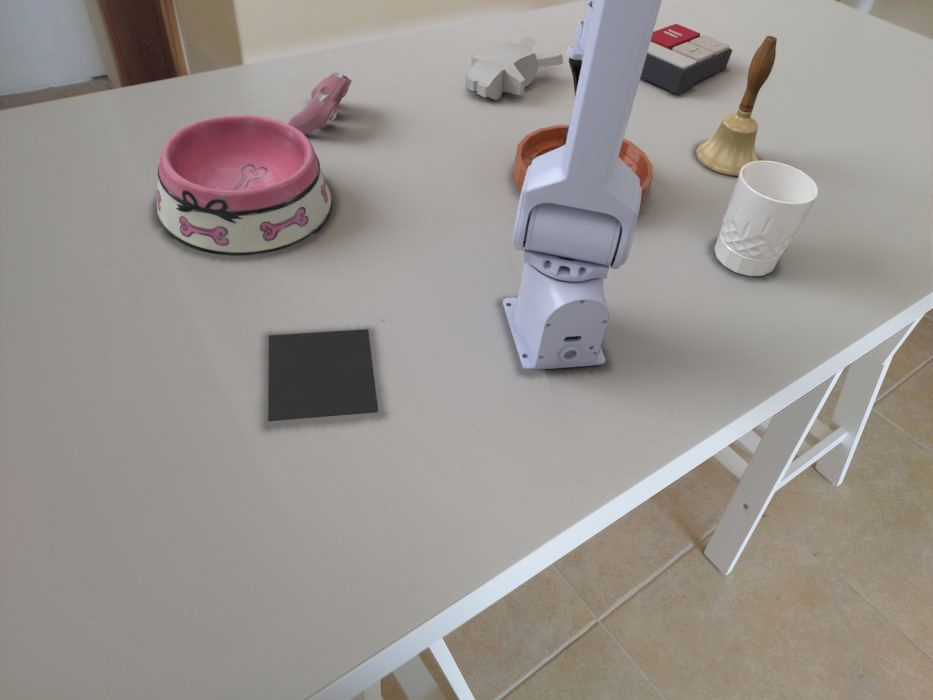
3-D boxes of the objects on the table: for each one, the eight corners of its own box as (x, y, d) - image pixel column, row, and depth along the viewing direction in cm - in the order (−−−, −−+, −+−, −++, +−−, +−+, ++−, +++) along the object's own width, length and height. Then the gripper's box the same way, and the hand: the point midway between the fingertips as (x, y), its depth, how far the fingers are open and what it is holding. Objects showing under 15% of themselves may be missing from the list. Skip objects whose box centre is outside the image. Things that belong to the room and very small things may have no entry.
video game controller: (315, 151, 92) (338, 110, 88) (283, 131, 91) (304, 87, 87) (340, 114, 99) (362, 74, 95) (310, 95, 98) (331, 53, 93)
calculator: (735, 44, 114) (686, 65, 105) (725, 71, 117) (677, 94, 108) (675, 20, 118) (623, 38, 110) (667, 46, 121) (616, 66, 113)
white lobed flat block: (450, 58, 101) (522, 20, 108) (451, 91, 105) (520, 53, 112) (501, 84, 97) (572, 43, 104) (499, 118, 101) (568, 76, 108)
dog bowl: (356, 179, 86) (355, 126, 81) (287, 276, 74) (281, 219, 69) (212, 145, 89) (203, 92, 84) (121, 233, 76) (104, 176, 71)
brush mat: (378, 414, 62) (378, 411, 62) (268, 423, 61) (268, 420, 60) (367, 331, 69) (367, 328, 69) (269, 338, 67) (268, 335, 67)
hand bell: (689, 164, 95) (731, 42, 84) (702, 136, 101) (744, 18, 89) (753, 183, 93) (805, 61, 82) (763, 154, 99) (813, 35, 87)
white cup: (695, 241, 83) (725, 165, 76) (751, 231, 86) (785, 156, 79) (735, 286, 79) (771, 208, 71) (794, 274, 81) (834, 197, 74)
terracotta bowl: (664, 222, 86) (673, 197, 83) (530, 228, 83) (534, 201, 80) (620, 148, 96) (626, 124, 94) (500, 150, 94) (503, 125, 91)
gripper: (558, -23, 77) (538, 98, 87) (600, 36, 68) (572, 165, 77) (621, -21, 79) (594, 98, 88) (671, 37, 69) (634, 164, 79)
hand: (588, 129), depth 83 cm, fingers closed on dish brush, 2 cm apart
